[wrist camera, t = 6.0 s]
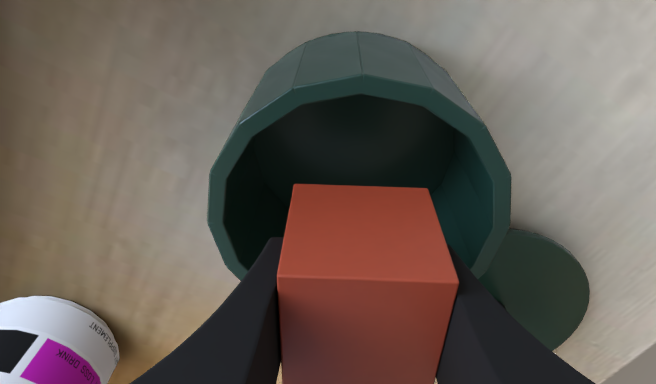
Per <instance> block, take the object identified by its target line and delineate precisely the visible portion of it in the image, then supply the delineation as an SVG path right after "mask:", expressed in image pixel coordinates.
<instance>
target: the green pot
mask: <svg viewBox="0 0 656 384" xmlns="http://www.w3.org/2000/svg"><path fill="white" fill-rule="evenodd" d="M294 184H320V185H350V186H379V187H409V188H428V190H429V193H430V196H431V199H432V202H433V205H434V208H435V211H436V214H437V217H438V220H439V223H440V226H441V229H442V232H443V235H444V238H445V241H446V244H449V245H450V246H451V247H452V248H453V250H454V251H455V252H456V253H457V255H458V256H459V257H460V258H461V260H462V261H463V262H464V263H465V265H466V266H467V267H468V268H469V269H470V271H471V272H472V273H473V274H474V275H475V277H476V278H477V279H478V278H479V277H480V276H482V275H483V274H484V273H485V272H486V270H488V268H489V266H490V264H491V262H492V260H493V259H494V257H495V255H496V253H497V251H498V249H499V247H500V245H501V243H502V241H503V239H504V238H505V236H506V234H507V232H508V230H509V226H510V213H511V173H510V171H509V169H508V167H507V165H506V163H505V162H504V160H503V158H502V156H501V154H500V152H499V150H498V148H497V146H496V144H495V142H494V140H493V138H492V136H491V134H490V132H489V130H488V129H487V127H486V125H485V124H484V122H483V121H482V120H481V118H480V117H479V116H478V114H477V113H476V112H475V110H474V109H473V107H472V106H471V105H470V103H469V102H468V101H467V99H466V98H465V96H464V95H463V94H462V92H461V91H460V90H459V88H458V87H457V85H456V84H455V83H454V81H453V80H452V79H451V77H450V76H449V74H448V73H447V72H446V71H445V69H443V68H442V67H441V66H439V65H438V64H437V63H435V62H434V61H433V60H432V59H431V58H429V57H428V56H427V55H426V54H425V53H423V52H422V51H420V50H418V49H417V48H415V47H414V46H412V45H411V44H409V43H408V42H406V41H402V40H399V39H397V38H393V37H390V36H386V35H383V34H377V33H370V32H360V31H357V32H356V31H355V32H343V33H336V34H330V35H327V36H323V37H320V38H316V39H314V40H311V41H308V42H305V43H304V44H302V45H300V46H299V47H297V48H295V49H294V50H292V51H291V52H289V53H287V54H286V55H285V56H284V57H283V58H281V59H280V60H279V61H278V62H276V63H275V64H274V65H273V66H271V67H270V68H268V70H267V71H266V72H265V74H264V76H263V77H262V79H261V81H260V83H259V84H258V86H257V88H256V89H255V91H254V93H253V95H252V96H251V98H250V100H249V101H248V103H247V105H246V107H245V108H244V110H243V112H242V114H241V116H240V117H239V119H238V121H237V123H236V125H235V127H234V128H233V130H232V132H231V134H230V136H229V137H228V139H227V141H226V143H225V145H224V147H223V148H222V150H221V152H220V154H219V156H218V157H217V159H216V161H215V163H214V165H213V167H212V168H211V171H210V174H209V192H208V211H207V222H208V226H209V228H210V231H211V233H212V235H213V238H214V240H215V242H216V245H217V247H218V249H219V252H220V254H221V256H222V258H223V261H224V263H225V265H226V266H227V268H228V269H229V270H230V271H231V272H232V273H233V274H234V275H235V276H236V277H237V278H238V279H239V280H240V281H242V279H243V278H244V277H245V275H246V274H247V272H248V271H249V270H250V268H251V267H252V266H253V264H254V263H255V261H256V260H257V258H258V257H259V255H260V254H261V252H262V250H263V249H264V247H265V245H266V244H267V242H268V240H269V239H270V238H272V237H284V234H285V229H286V223H287V218H288V213H289V208H290V202H291V197H292V192H293V186H294Z"/></svg>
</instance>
